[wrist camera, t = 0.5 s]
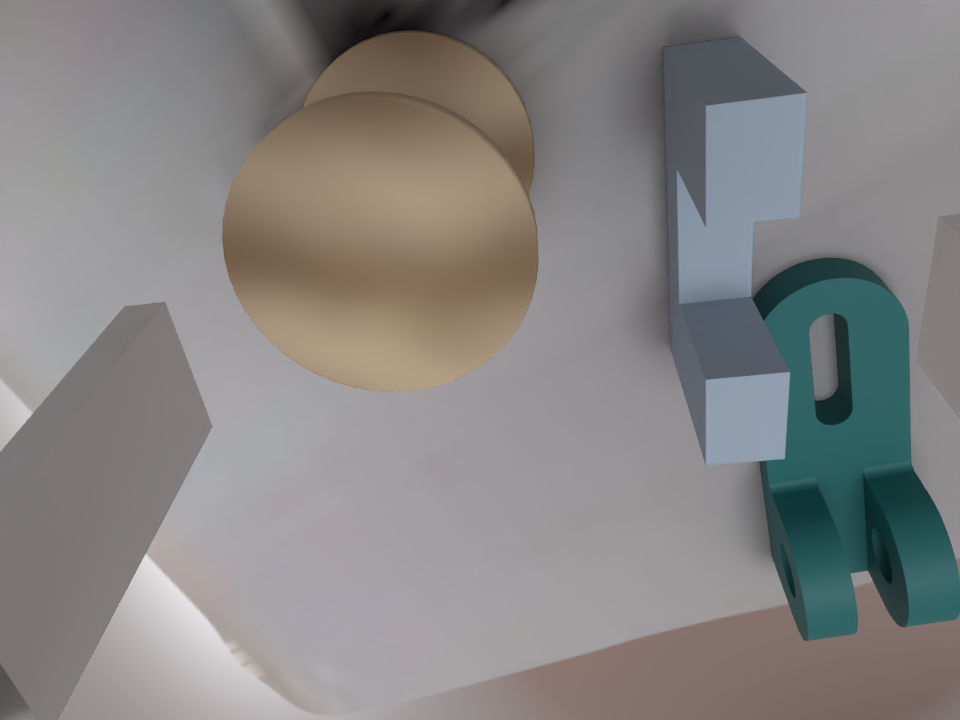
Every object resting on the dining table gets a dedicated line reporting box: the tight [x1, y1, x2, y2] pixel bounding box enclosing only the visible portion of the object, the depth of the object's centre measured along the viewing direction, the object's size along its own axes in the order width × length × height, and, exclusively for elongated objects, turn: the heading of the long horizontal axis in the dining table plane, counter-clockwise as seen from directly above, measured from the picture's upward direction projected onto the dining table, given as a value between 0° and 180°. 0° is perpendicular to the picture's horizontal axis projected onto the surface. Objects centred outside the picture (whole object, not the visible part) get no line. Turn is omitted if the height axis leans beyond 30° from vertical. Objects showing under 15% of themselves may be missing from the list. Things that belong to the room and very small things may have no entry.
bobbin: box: [222, 30, 538, 392], centre depth 31 cm, size 10×10×11 cm
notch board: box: [663, 37, 807, 465], centre depth 33 cm, size 14×3×9 cm, turn 8°
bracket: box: [753, 258, 960, 641], centre depth 39 cm, size 18×7×8 cm, turn 15°
